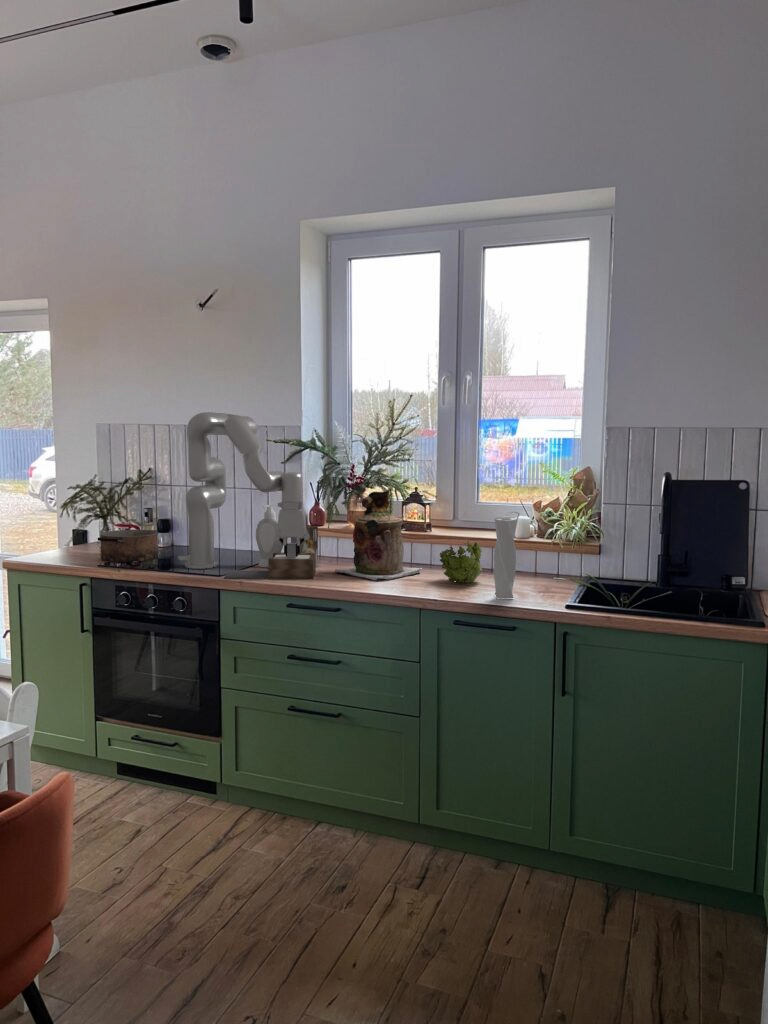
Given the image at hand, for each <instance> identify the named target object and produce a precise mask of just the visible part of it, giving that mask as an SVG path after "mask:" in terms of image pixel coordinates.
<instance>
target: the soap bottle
mask: <svg viewBox="0 0 768 1024" xmlns="http://www.w3.org/2000/svg"><path fill="white" fill-rule="evenodd" d="M273 507H274V505H273V504H266V505H263V506H262V508H267V509H266V511H265V512H264V514H263V515H264V518H263V519H261V520H259V522H258V523H257V524H256V525H257V526H256V529H255V541H256V544H257V545H256V546H257V548H258V551H259V554H260V559H259V562H258V567H260V566H261V568H262V567H263V568H267V567H269V562H268V559H269V558H273V553H282V550H283V549H284V545H283V544H282V543H281V542H280V541H279V540H277V539H275V538H274V536H275V534H276V532H277V530H278V518H277V517H276V516H277V515H276V513H277V512H275V510H274V509H273ZM281 538H283V539H284V537H281Z"/></svg>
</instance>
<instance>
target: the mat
mask: <svg viewBox="0 0 768 1024" xmlns="http://www.w3.org/2000/svg"><path fill="white" fill-rule="evenodd" d="M268 577H269V569H267V570H263V569H261V570H259V569H258V570H257V569H254V570H253V569H251V570H248V569H246V570H245V569H238V570H237V569H231V570H229V571H228V572H227V574H226V575H225V576H224V577H223V579H224V580H225V579H228V580H231V579H234V580H238V579H240V580H241V579H242V580H243V579H245V580H266V579H267V578H268Z"/></svg>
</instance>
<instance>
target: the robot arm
mask: <svg viewBox="0 0 768 1024" xmlns="http://www.w3.org/2000/svg"><path fill="white" fill-rule="evenodd" d="M257 433H258V426H257V423H256V421H255V420H254V419H253V418H252V417H250V416H245V415H237V414H236V415H235V414H233V413H232V414H231V413H225V412H210V411H206V412H205V411H204V412H200V413H197V414H195V415H193V416H192V417H190V420H189V421H188V423H187V426H186V437H187V445H188V449H187V450H188V451H187V452H188V454H187V457H188V473H189V478H190V479H191V480H192V481H194V482H198V483H204V484H202V485H194V486H193V487H191V488H189V490H187V492H186V495H185V504H186V509H187V516H188V517H187V518H188V519H187V520H188V555H187V554H186V556H184V555H178V557H177V560H178V562H185V564H184V567H185V568H186V569H195V570H198V569H199V570H200V569H202V570H203V569H204V570H205V569H206V568H207V569H212V568H213V567H214V568H217V567H219V562H218V561H215V528H214V527H215V526H214V525H215V524H214V523H215V521H214V516H213V513H212V509H213V510H214V509H218V508H220V507H222V506H223V505H224V504H225V502H226V498H227V473H226V472H227V471H226V466H225V464H224V462H223V461H222V460H221V459H220V458H218V457H215V456H212V446H211V443H210V440H209V437H208V436H209V435H211V436H213V435H214V436H227V437H228V439H229V440H230V441H231V443H232V444H233V446H234V447H235V448H236V450H237V451H238V453H239V454H240V455H241V456H242V459H243V467H244V471H245V472H244V473H246V476H247V477H248V479H249V481H251V483H252V484H253V486H254V487H255V488H256V489H257V490H258V491H259V492H262V493H266V494H267V493H276V492H281V502H277V507H279V508H281V509H279V512H278V518H277V520H278V530H277V532H276V534H275V536H274V538H275V539H277V540H279V541H280V542H281V543H282V544H283V553H284V554H286V556H287V544H288V543H289V542H288V538H290V539H291V538H296V540H297V544H296V557H298V554H300V544H302V543H303V542H304V541H305V540H307V539H309V538H310V536H309V534H308V532H307V530H306V526H307V524H306V523H307V521H306V520H307V519H306V514H305V513H306V512H305V510H304V509H303V474H301V473H300V472H286V471H279V470H274V471H273V470H272V471H267V469H266V468H265V466H264V465H263V464H262V462H261V460H260V457H259V456H260V453H261V452H262V450H263V444H262V443H261V441H260V440H259V439H258V437H257V436H256V434H257ZM304 536H305V537H304ZM281 537H284V539H283V538H281ZM301 537H303V538H302V539H301V540H300V538H301ZM214 568H213V569H214ZM207 569H206V570H207Z"/></svg>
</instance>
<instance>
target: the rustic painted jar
mask: <svg viewBox="0 0 768 1024" xmlns="http://www.w3.org/2000/svg"><path fill="white" fill-rule="evenodd" d="M389 495H390V489H386V490H384V491H372V492H369V494H368V495H367V496H366V497H363V498H362V499H361V504H362V507H363V508H365V510H364V512H363V513H364V514H362V515H360V516H358V518H357V519H356V520H355V521H354V525H353V527H354V528H353V531H352V532H353V533H352V538H353V539H352V543H354V544H353V552H354V556H353V564H354V566H353V567H351V568H347V569H335V570H334V573H336V572H339V574H347V575H350V576H354V577H359V578H363V579H369V580H373V581H376V580H378V579H384V580H392V579H396V578H401V577H405V576H410V575H416V574H415V573H420V574H421V572H422V570H423V567H405V566H403V563H404V562H403V561H404V554H405V548H404V542H403V534H402V525H403V524H404V519H403V518H400V517H396V516H394V515H393V514H392V513H390V511H389V510H388V509H389V506H390V503H391V501H390V500H389V499H390V496H389Z"/></svg>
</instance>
